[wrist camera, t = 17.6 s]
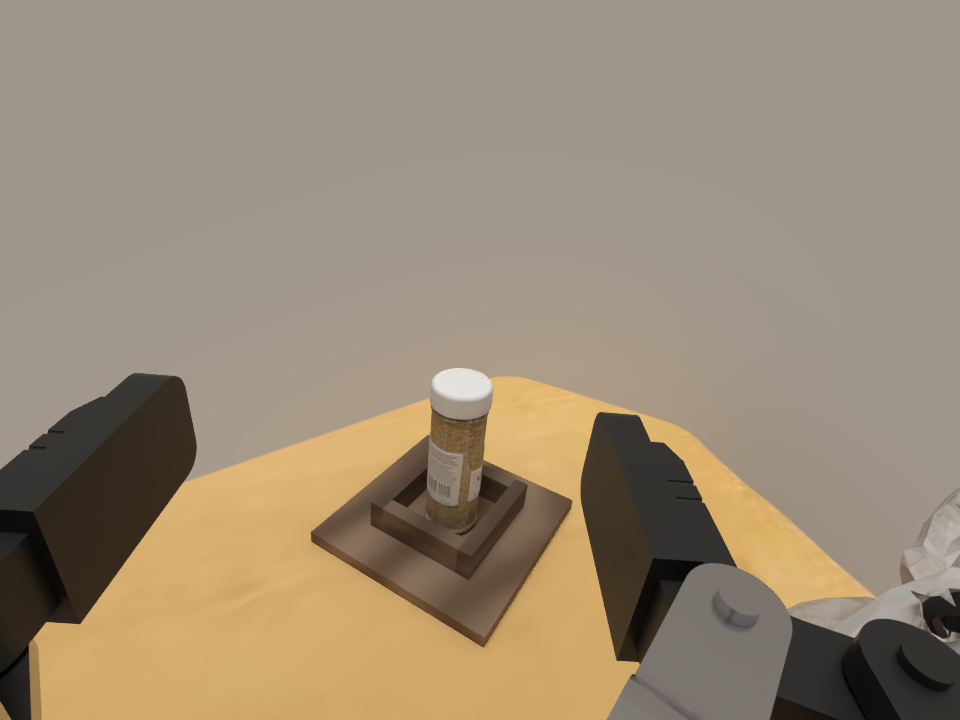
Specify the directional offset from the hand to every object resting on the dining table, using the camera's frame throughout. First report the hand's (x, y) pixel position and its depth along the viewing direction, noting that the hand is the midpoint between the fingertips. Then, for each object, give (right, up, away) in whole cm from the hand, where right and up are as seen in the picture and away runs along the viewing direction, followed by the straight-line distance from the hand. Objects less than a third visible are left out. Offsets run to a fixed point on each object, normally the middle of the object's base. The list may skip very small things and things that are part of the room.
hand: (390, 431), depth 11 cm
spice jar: (-1, -12, +35) cm, 37 cm away
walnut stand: (-1, -13, +35) cm, 38 cm away
